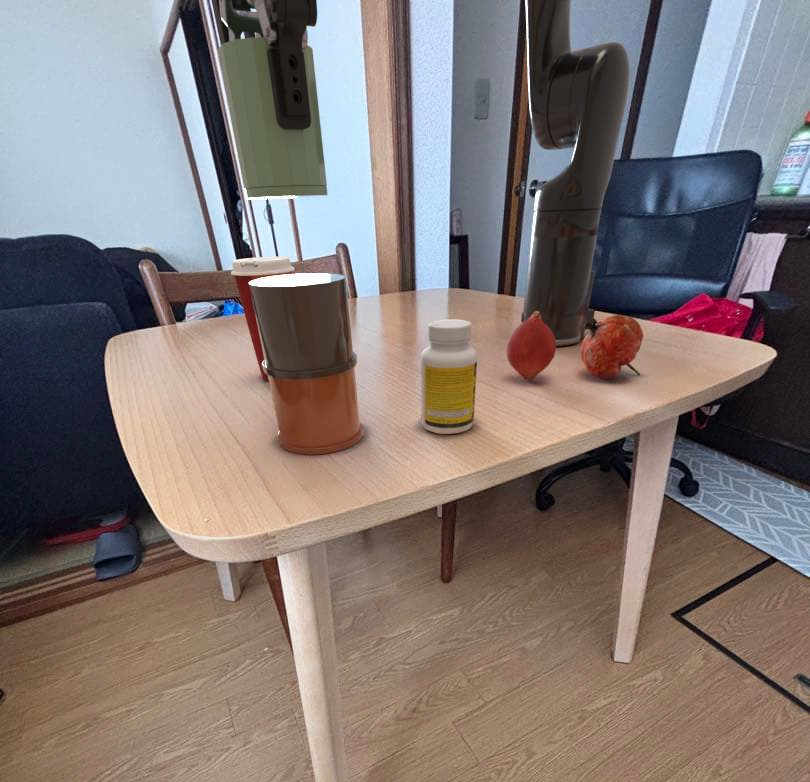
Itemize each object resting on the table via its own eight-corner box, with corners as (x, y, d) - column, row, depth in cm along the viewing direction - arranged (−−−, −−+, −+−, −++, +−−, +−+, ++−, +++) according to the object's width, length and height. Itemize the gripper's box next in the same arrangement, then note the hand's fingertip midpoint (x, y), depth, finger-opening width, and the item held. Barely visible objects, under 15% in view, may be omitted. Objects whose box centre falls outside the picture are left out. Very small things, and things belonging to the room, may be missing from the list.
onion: (495, 381, 60) (500, 312, 55) (519, 370, 63) (526, 305, 58) (536, 389, 56) (545, 317, 52) (559, 378, 60) (570, 309, 55)
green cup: (310, 197, 40) (293, 65, 35) (340, 194, 35) (326, 43, 31) (237, 199, 37) (209, 57, 32) (260, 196, 33) (232, 32, 28)
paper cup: (298, 385, 61) (277, 261, 53) (244, 383, 63) (216, 263, 54) (318, 367, 67) (302, 255, 59) (269, 366, 69) (247, 256, 61)
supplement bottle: (482, 431, 47) (489, 326, 41) (431, 439, 46) (431, 332, 40) (461, 412, 51) (465, 315, 45) (414, 419, 50) (412, 320, 44)
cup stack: (341, 414, 52) (324, 270, 44) (378, 440, 46) (367, 278, 38) (267, 432, 49) (233, 280, 40) (296, 462, 42) (263, 290, 34)
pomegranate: (615, 383, 64) (563, 335, 62) (664, 341, 59) (608, 287, 57) (618, 407, 59) (560, 356, 57) (671, 363, 54) (610, 306, 52)
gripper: (340, -376, 21) (369, 123, 31) (249, -181, 31) (293, 147, 41) (161, -469, 18) (257, 118, 28) (125, -219, 28) (204, 146, 38)
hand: (278, 134), depth 34 cm, fingers closed on green cup, 6 cm apart
